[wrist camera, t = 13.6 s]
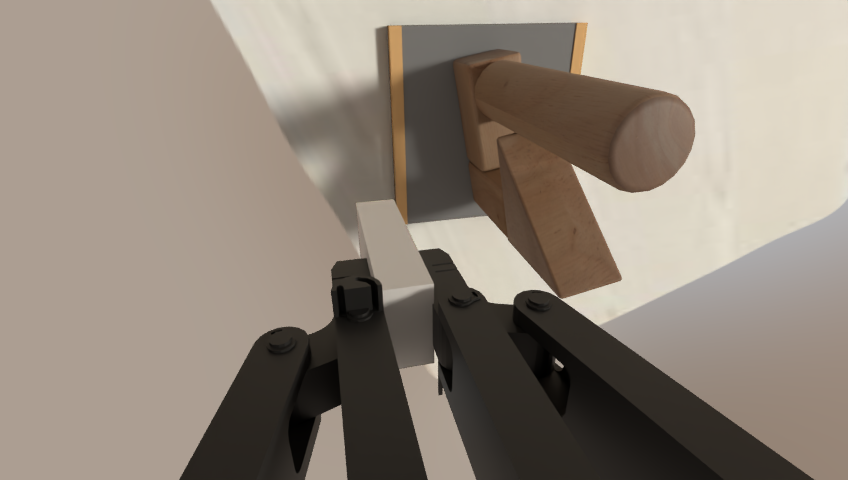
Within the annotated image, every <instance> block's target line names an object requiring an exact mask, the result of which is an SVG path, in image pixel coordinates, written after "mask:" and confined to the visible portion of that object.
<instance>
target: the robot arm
mask: <svg viewBox="0 0 848 480" xmlns="http://www.w3.org/2000/svg"><path fill="white" fill-rule="evenodd" d="M356 211H357V222H358V233H359V245H360V256H361V259H354V260H346V261H337V262H336V264H335V265H334V266H333V268H332V269H331V273H332V289H331V296H332V304H333V312H334V318H333V319H332V321H331V322H330V323H329V324H328V325H327V326H326V327H324V328H323V329H321V330H319V331H317V332H315V333H312V334H309V335H307V333H306V332H305V331H304V330H302V329H300V328H296V327H282V328H277V329H274V330H271V331H268V332H267V333H265V334H264V335H262V336H260V338H259V339H258V340H257V341H256V342H255V343H254V345H253V347H252V349H251V350H250V352H249V354H248V356H247V358H246V360H245V361H244V363H243V365H242V367H241V369H240V370H239V372H238V374H237V376H236V378H235V380H234V382H233V383H232V385H231V387H230V389H229V390H228V392H227V394H226V396H225V398H224V400H223V401H222V403H221V405H220V407H219V409H218V410H217V412H216V414H215V416H214V418H213V419H212V421H211V423H210V425H209V427H208V429H207V430H206V432H205V434H204V436H203V438H202V440H201V441H200V443H199V445H198V447H197V448H196V450H195V452H194V454H193V456H192V458H191V459H190V461H189V463H188V465H187V467H186V469H185V470H184V472H183V474H182V476H181V478H180V480H305V477H306V473H307V469H308V465H309V462H310V458H311V455H312V451H313V447H314V444H315V440H316V437H317V433H318V429H319V425H320V422H321V414H322V413H324V412H326V411H328V410H330V409H333V408H335V407H337V406H339V405H341V406H342V418H343V431H344V442H345V455H346V466H347V478H348V480H428V479H427V475H426V471H425V468H424V464H423V460H422V456H421V452H420V449H419V445H418V441H417V437H416V433H415V429H414V425H413V421H412V418H411V414H410V410H409V406H408V402H407V398H406V394H405V391H404V387H403V383H402V379H401V375H400V371H399V369H401V368H407V367H412V366H418V365H425V364H430V363H434V350H435V352H436V355H437V357H438V393H439V395H442V388H444V391H445V394H446V397H447V399H448V402H449V405H450V408H451V411H452V413H453V416H454V419H455V422H456V424H457V427H458V430H459V433H460V435H461V438H462V441H463V444H464V446H465V449H466V452H467V455H468V458H469V460H470V463H471V466H472V469H473V471H474V474H475V477H476V480H814V479H813V478H811V477H810V476H808V475H807V474H805V473H804V472H803V471H801V470H800V469H798V468H797V467H795V466H794V465H793V464H791V463H790V462H789V461H787V460H786V459H784V458H783V457H781V456H780V455H779V454H777V453H776V452H775V451H773V450H772V449H770V448H769V447H767V446H766V445H765V444H763V443H762V442H760V441H759V440H757V439H756V438H755V437H753V436H752V435H751V434H749V433H748V432H746V431H745V430H744V429H742V428H741V427H739V426H738V425H737V424H735V423H734V422H732V421H731V420H729V419H728V418H726V417H725V416H724V415H722V414H721V413H720V412H718V411H717V410H715V409H714V408H712V407H711V406H710V405H708V404H707V403H706V402H704V401H703V400H701V399H700V398H699V397H697V396H696V395H694V394H693V393H692V392H690V391H689V390H687V389H686V388H684V387H683V386H682V385H680V384H679V383H677V382H676V381H675V380H673V379H672V378H670V377H669V376H668V375H666V374H665V373H663V372H662V371H661V370H659V369H658V368H656V367H655V366H654V365H652V364H651V363H649V362H648V361H646V360H645V359H643V358H642V357H641V356H639V355H638V354H636V353H635V352H634V351H632V350H631V349H630V348H628V347H627V346H625V345H624V344H622V343H621V342H620V341H618V340H617V339H616V338H614V337H613V336H611V335H610V334H608V333H607V332H606V331H604V330H603V329H601V328H600V327H599V326H597V325H596V324H594V323H593V322H592V321H590V320H589V319H587V318H586V317H585V316H583V315H582V314H580V313H579V312H578V311H576V310H575V309H573V308H572V307H571V306H569V305H568V304H566V303H565V302H563V301H562V300H561V299H559V298H558V297H556V296H554V295H552V294H551V293H548V292H544V291H541V290H529V291H523V292H521V293H519V294H517V295H516V297H515V298H514V304H513V305H508V304H495V303H490V302H487V300H486V298H485V297H484V296H483V295H482V294H481V293H480V292H479V291H477V290H475V289H473V288H469V287H468V286H467V284H466V282H465V281H464V279H463V277H462V276H461V274H460V272H459V271H458V270H457V267H456V266H455V264H453V261H452V259H451V258H450V256H449V254H447V253H446V252H444V251H442V250H441V249H439V248H438V249H429V250H421V251H418V249H417V247H416V245H415V243H414V241H413V239H412V237H411V235H410V232H409V230H408V228H407V226H406V224H405V222H404V220H403V218H402V216H401V214H400V212H399V209H398V207H397V205H396V203H395V201H394V199H389V200H379V201H368V202H357V203H356ZM555 358H556V359H557V360H558V361H559V362H561V363H562V364H563V365H564V367H563V368H561V367H560V366H558V365H557V364H556V363H555Z"/></svg>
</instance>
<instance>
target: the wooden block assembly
mask: <svg viewBox="0 0 848 480" xmlns="http://www.w3.org/2000/svg"><path fill="white" fill-rule="evenodd" d="M453 68H454V74H455V81H456V87H457V94H458V100H459V107H460V113H461V120H462V126H463V133H464V139H465V146H466V152H467V157H468V159H469V160H470V161H469V165H468V166H469V172H470V179H471V185H472V192H473V198H474V201H475V202H476V203H477V204H478V205H479V207H480V208H481V209H482V210H483V211H484V212H485V213H486V214H487V216H488V217H489V218H490V219H491V220H492V221H493V222H494V223H495V224H496V226H497V227H498V228H499V229H500V230H501V231H502V232H503V233H504V234H505V236H506V237H508V240H509V242H510V243H511V244H512V245H513V246H514V247H515V249H516V250H517V251H518V252H519V253H520V254H521V255H522V256H523V258H524V259H525V260H526V261H527V262H528V263H529V264H530V265H531V267H532V268H533V269H534V270H535V271H536V272H537V273H538V274H539V275H540V277H541V278H542V279H543V280H544V281H545V282H546V283H547V284H548V286H549V287H550V288H551V289H552V290H553V291H554V292H555V293H556V295H557V296H558V297H559V298H562V299H563V298H566V297H570V296H573V295H576V294H579V293H583V292H586V291H589V290H592V289H595V288H599V287H602V286H605V285H608V284H611V283H615V282H618V281H621V280H622V278H621V275H620V273H619V270H618V268H617V266H616V264H615V261H614V259H613V257H612V255H611V252H610V250H609V248H608V246H607V243H606V241H605V239H604V237H603V234H602V232H601V230H600V228H599V225H598V223H597V221H596V219H595V217H594V214H593V212H592V210H591V208H590V205H589V203H588V201H587V199H586V196H585V194H584V192H583V190H582V187H581V185H580V183H579V181H578V178H577V176H576V174H575V172H574V169H573V167H572V165H571V164H573V165H575V166H577V167H579V168H580V169H582V170H584V171H586V172H588V173H589V174H591V175H593V176H595V177H597V178H598V179H600V180H602V181H604V182H606V183H608V184H609V185H611V186H613V187H615V188H617V189H618V190H622V191H626V192H631V193H634V192H643V191H650V190H652V189H654V188H656V187H659V186H661V185H663V184H664V183H665V182H667V181H668V180H669V179H670V178H672V177H673V176H674V175H675V174H676V173H677V172H678V170H679V169H680V168H681V167H682V165H683V164H684V163H685V161H686V159H687V157H688V155H689V153H690V151H691V149H692V145H693V141H694V137H695V120H694V118H693V115H692V113H691V110H690V108H689V107H688V106H687V105H686V104H685V103H684V102H683V101H682V100H681V99H680V98H679V97H678V96H676V95H673V94H670V93H667V92H664V91H659V90H654V89H649V88H644V87H639V86H634V85H629V84H624V83H619V82H614V81H609V80H604V79H599V78H594V77H589V76H584V75H579V74H574V73H569V72H564V71H559V70H554V69H549V68H544V67H539V66H534V65H530V64H525V63H521V55H520V53H519V52H516V51H509V50H503V49H495V50H491V51H487V52H483V53H479V54H475V55H471V56H467V57H462V58H458V59H456V60H454V62H453Z"/></svg>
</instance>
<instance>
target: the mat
mask: <svg viewBox="0 0 848 480" xmlns="http://www.w3.org/2000/svg"><path fill="white" fill-rule="evenodd" d="M587 24H588V23H535V24H468V25H401V26H388V48H389V71H390V94H391V117H392V140H393V163H394V186H395V203H396V205H397V207H398V209H399V212H400V214H401V216H402V218H403V220H404V222H405V224H411V223H420V222H430V221H440V220H449V219H459V218H468V217H478V216H487V214H486V213H485V212H484V211H483V210H482V209H481V208H480V207H479V205H478V204H477V203H476V202H475V201H474V198H473V192H472V185H471V179H470V172H469V166H468V165H469V161H470V160H469V159H468V157H467V152H466V146H465V139H464V133H463V126H462V120H461V113H460V107H459V100H458V94H457V87H456V81H455V74H454V68H453V62H454V60H456V59H458V58H462V57H467V56H471V55H475V54H479V53H483V52H487V51H491V50H495V49H503V50H509V51H516V52H519V53H520V55H521V63H525V64H530V65H534V66H539V67H544V68H549V69H554V70H559V71H564V72H569V73H574V74H579V75H580V74H581V67H582V60H583V52H584V45H585V38H586V31H587Z"/></svg>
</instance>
